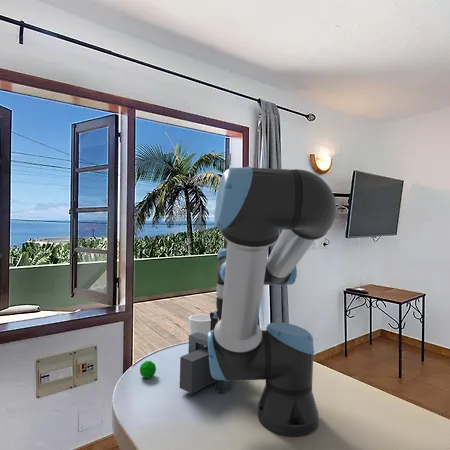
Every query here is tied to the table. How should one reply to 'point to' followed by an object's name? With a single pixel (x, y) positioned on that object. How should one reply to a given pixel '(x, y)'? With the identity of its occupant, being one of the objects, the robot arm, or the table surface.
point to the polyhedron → (147, 369)
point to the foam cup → (199, 323)
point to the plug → (195, 370)
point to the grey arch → (199, 342)
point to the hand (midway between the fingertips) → (226, 368)
